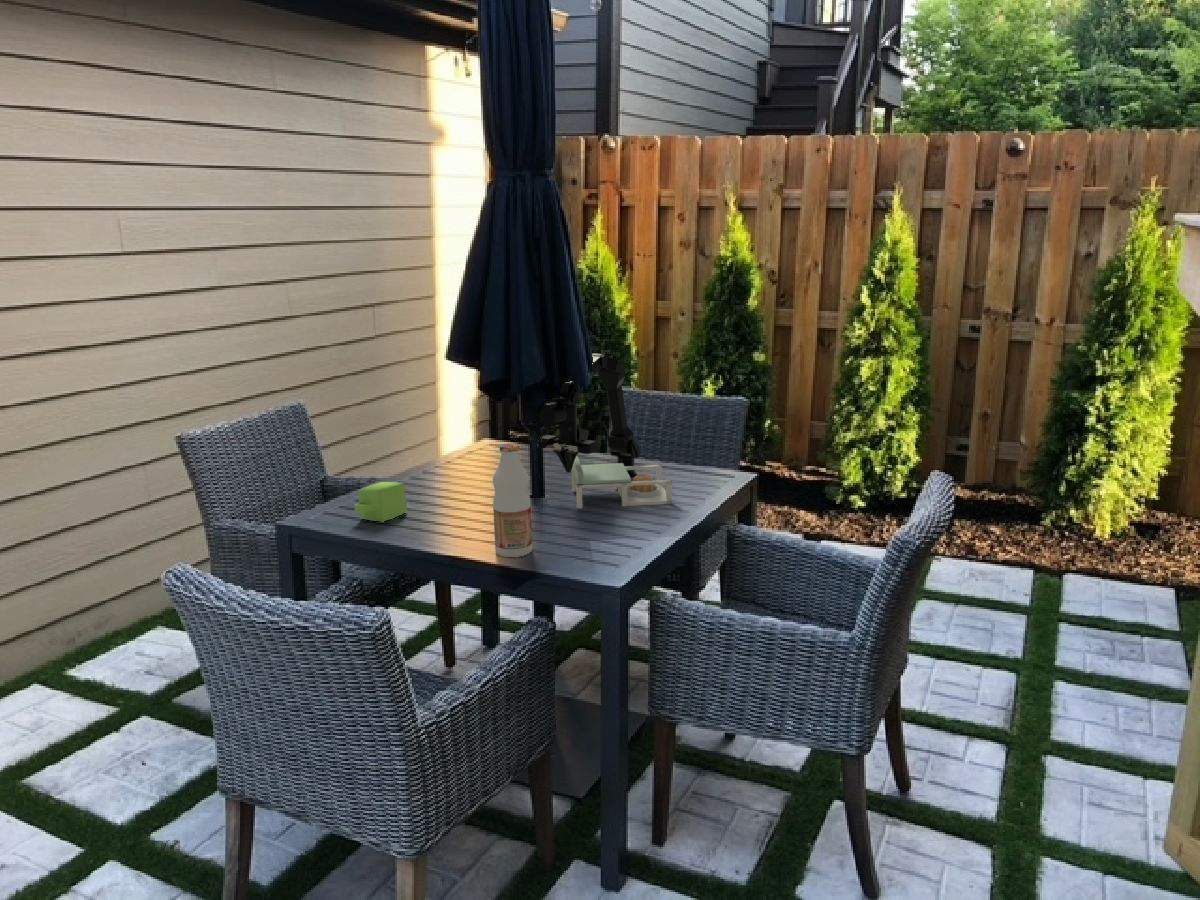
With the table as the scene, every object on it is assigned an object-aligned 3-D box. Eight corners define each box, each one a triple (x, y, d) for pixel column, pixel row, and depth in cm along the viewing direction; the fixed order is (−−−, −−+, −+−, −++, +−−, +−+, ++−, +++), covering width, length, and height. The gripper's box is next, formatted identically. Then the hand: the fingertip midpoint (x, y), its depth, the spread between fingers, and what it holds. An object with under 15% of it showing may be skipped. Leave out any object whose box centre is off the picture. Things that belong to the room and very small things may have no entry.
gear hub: (632, 490, 291) (631, 474, 290) (652, 489, 292) (652, 473, 291) (634, 496, 285) (634, 480, 284) (655, 495, 286) (655, 479, 285)
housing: (572, 490, 296) (571, 468, 294) (661, 486, 299) (661, 464, 297) (577, 508, 278) (576, 485, 276) (671, 503, 280) (671, 481, 279)
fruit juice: (487, 553, 242) (482, 446, 235) (514, 543, 249) (509, 439, 242) (513, 561, 236) (509, 451, 229) (540, 550, 243) (536, 444, 236)
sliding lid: (572, 467, 294) (572, 456, 293) (622, 465, 296) (622, 454, 295) (577, 484, 276) (577, 472, 275) (631, 481, 277) (631, 469, 276)
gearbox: (390, 507, 284) (387, 476, 282) (417, 509, 280) (414, 478, 278) (349, 523, 269) (345, 490, 267) (376, 526, 264) (373, 493, 262)
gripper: (608, 419, 283) (609, 469, 286) (556, 413, 292) (558, 462, 296) (587, 426, 273) (589, 478, 277) (535, 420, 283) (537, 470, 287)
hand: (568, 472), depth 285 cm, fingers closed
